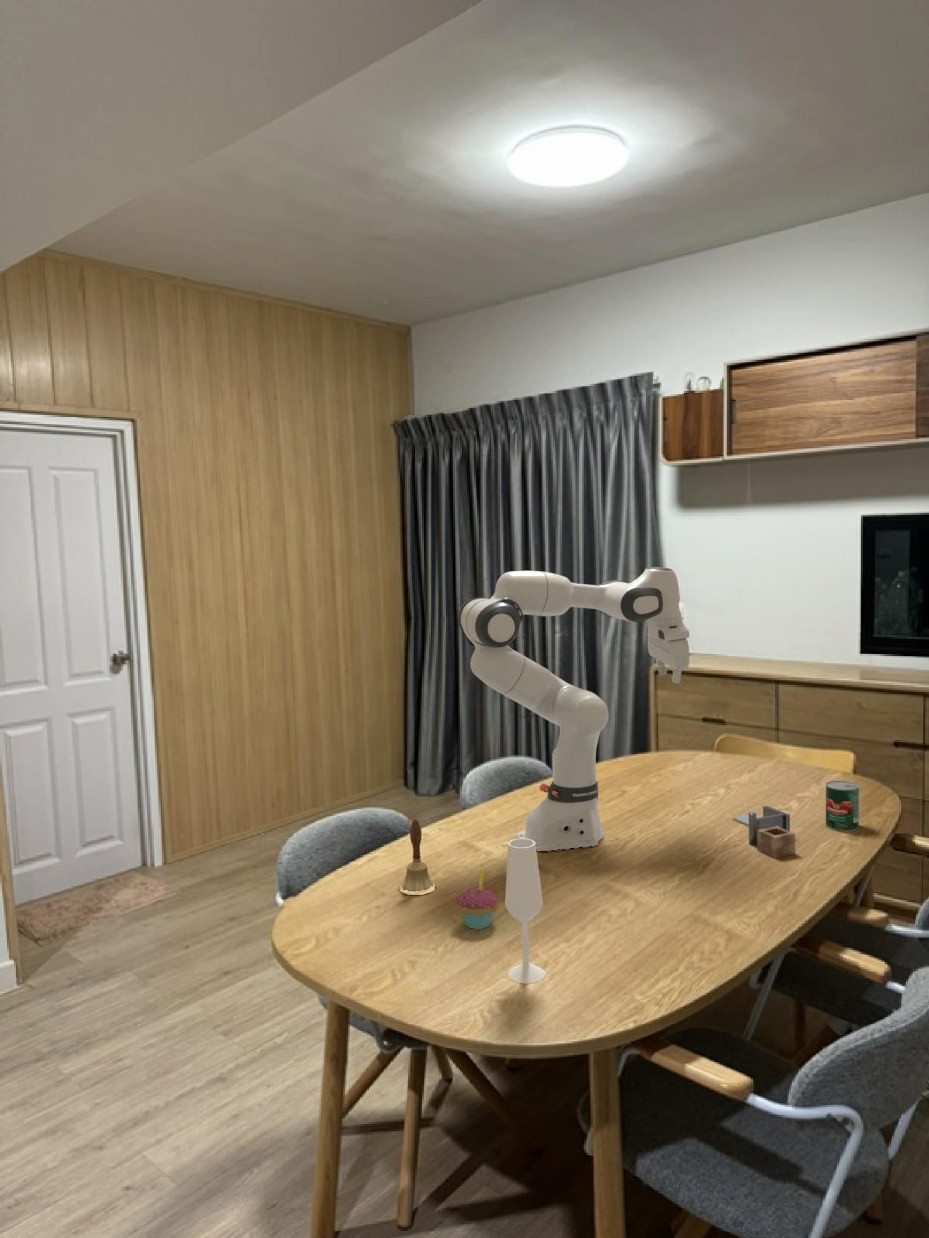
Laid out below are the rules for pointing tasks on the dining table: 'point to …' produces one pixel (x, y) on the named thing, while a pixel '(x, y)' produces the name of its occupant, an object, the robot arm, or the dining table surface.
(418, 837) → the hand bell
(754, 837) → the bent rail
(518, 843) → the champagne flute
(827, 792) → the canned tomato
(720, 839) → the dining table surface
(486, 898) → the cupcake
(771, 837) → the brown hollow square block
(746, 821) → the mat
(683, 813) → the dining table surface
